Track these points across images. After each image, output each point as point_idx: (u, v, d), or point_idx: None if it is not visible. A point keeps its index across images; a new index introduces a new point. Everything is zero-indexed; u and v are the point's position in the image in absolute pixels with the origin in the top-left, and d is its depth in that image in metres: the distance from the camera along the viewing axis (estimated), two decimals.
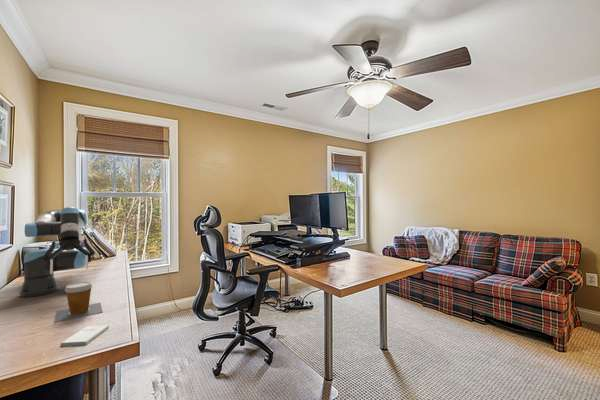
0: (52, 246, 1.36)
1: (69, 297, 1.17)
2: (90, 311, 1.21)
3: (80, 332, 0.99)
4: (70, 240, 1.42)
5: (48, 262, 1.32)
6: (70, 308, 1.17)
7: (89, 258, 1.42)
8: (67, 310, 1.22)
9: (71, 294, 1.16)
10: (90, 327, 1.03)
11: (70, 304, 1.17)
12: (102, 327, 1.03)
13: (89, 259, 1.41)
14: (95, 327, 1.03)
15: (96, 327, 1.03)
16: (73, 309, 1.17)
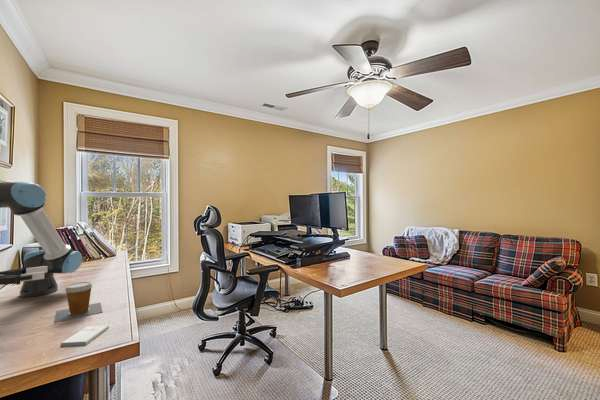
0: None
1: (69, 297, 1.17)
2: (90, 311, 1.21)
3: (80, 332, 0.99)
4: None
5: None
6: (70, 308, 1.17)
7: None
8: (67, 310, 1.22)
9: (71, 294, 1.16)
10: (90, 327, 1.03)
11: (70, 304, 1.17)
12: (102, 327, 1.03)
13: None
14: (95, 327, 1.03)
15: (96, 327, 1.03)
16: (73, 309, 1.17)
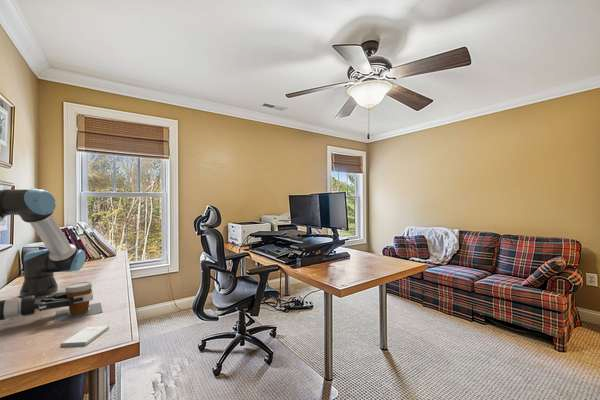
0: None
1: (69, 297, 1.17)
2: (90, 311, 1.21)
3: (80, 332, 0.99)
4: None
5: None
6: (70, 308, 1.17)
7: None
8: (67, 310, 1.22)
9: (71, 294, 1.16)
10: (91, 328, 1.03)
11: None
12: (102, 327, 1.03)
13: None
14: (96, 327, 1.03)
15: (96, 327, 1.03)
16: (73, 309, 1.17)
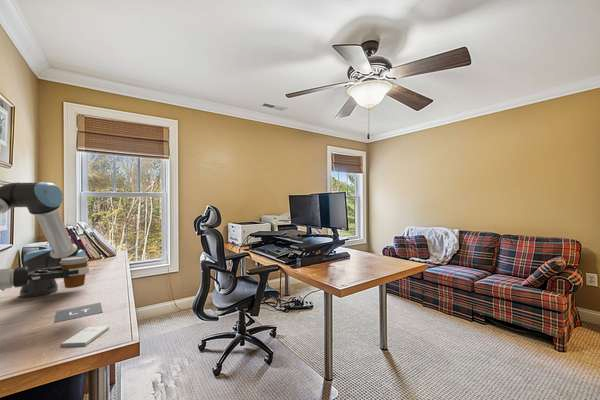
0: None
1: None
2: (90, 311, 1.21)
3: (81, 333, 0.99)
4: None
5: None
6: (65, 281, 1.13)
7: None
8: (67, 310, 1.22)
9: (66, 266, 1.12)
10: (91, 328, 1.03)
11: None
12: (103, 328, 1.02)
13: None
14: (96, 328, 1.03)
15: (97, 328, 1.03)
16: (68, 282, 1.13)
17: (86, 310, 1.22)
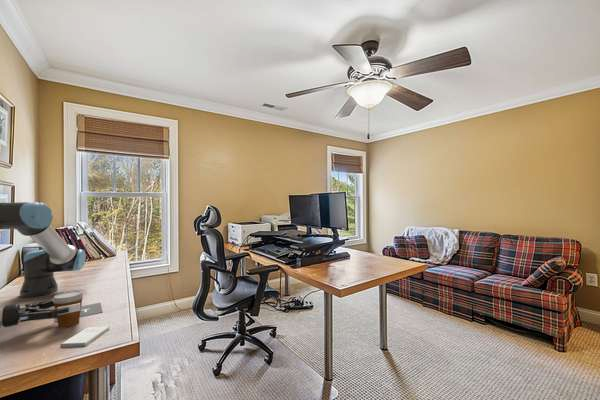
0: None
1: (57, 309, 1.05)
2: (90, 311, 1.21)
3: (81, 333, 0.99)
4: None
5: None
6: (58, 321, 1.05)
7: None
8: None
9: (59, 305, 1.04)
10: (91, 328, 1.02)
11: (58, 316, 1.05)
12: (103, 328, 1.02)
13: None
14: (96, 328, 1.03)
15: (97, 328, 1.03)
16: (62, 321, 1.05)
17: (86, 310, 1.22)
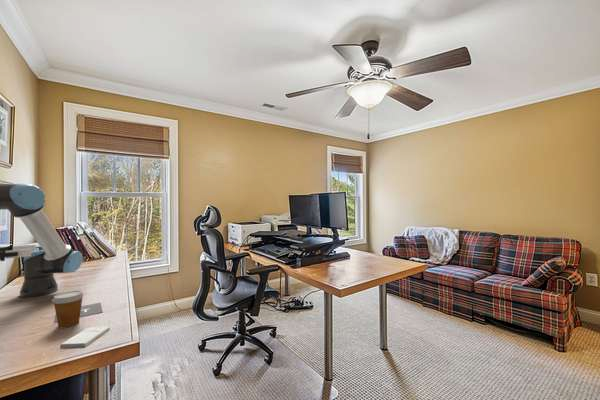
0: None
1: (57, 308, 1.05)
2: (90, 311, 1.21)
3: (81, 333, 0.98)
4: None
5: None
6: (58, 321, 1.05)
7: (11, 256, 0.98)
8: None
9: (59, 305, 1.04)
10: (91, 328, 1.02)
11: (58, 316, 1.05)
12: (103, 328, 1.02)
13: (13, 256, 0.99)
14: (96, 328, 1.02)
15: (97, 328, 1.02)
16: (62, 321, 1.05)
17: (86, 310, 1.22)
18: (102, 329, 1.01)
